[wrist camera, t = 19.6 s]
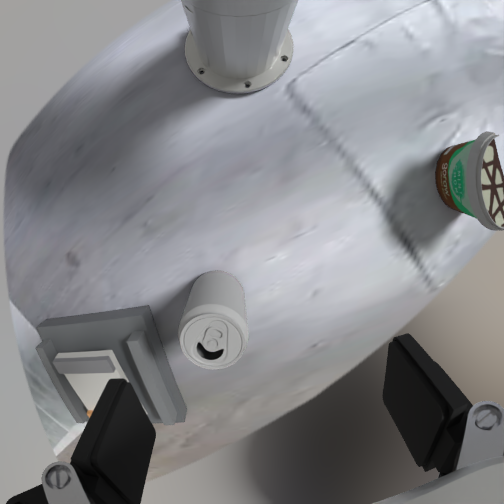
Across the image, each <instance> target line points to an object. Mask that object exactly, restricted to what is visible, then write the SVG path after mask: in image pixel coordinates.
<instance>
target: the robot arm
mask: <svg viewBox="0 0 504 504" xmlns="http://www.w3.org/2000/svg"><path fill="white" fill-rule="evenodd" d="M181 2H182V5H183V8H184V11H185V14H186V17H187V20H188V23H189V26H190V31H189V33H188V35H187V38H186V42H185V57H186V60H187V63H188V65H189V68H190V69H191V71H192V72H193V74H194V75H195V76H196V77H197V78H198V79H199V80H200V81H201V82H202V83H204V84H206V85H207V86H209V87H211V88H213V89H216V90H218V91H222V92H227V93H238V94H242V93H251V92H254V91H258V90H261V89H264V88H266V87H268V86H270V85H271V84H273V83H274V82H276V81H277V80H278V79H279V78H280V77H281V76H282V75H283V74H284V73H285V71H286V70H287V68H288V66H289V65H290V62H291V60H292V56H293V40H292V36H291V33H290V32H289V30H288V28H289V25H290V22H291V19H292V16H293V14H294V11H295V8H296V5H297V3H298V0H181ZM282 60H285V61H286V62H283V61H282ZM201 72H204V74H200V73H201ZM246 85H249V86H250V87H249V88H246V87H245V86H246ZM383 401H384V404H385V405H386V407H387V409H388V411H389V413H390V415H391V417H392V419H393V420H394V422H395V424H396V426H397V428H398V430H399V432H400V433H401V435H402V437H403V439H404V441H405V443H406V445H407V447H408V449H409V451H410V452H411V454H412V456H413V458H414V460H415V462H416V464H417V465H418V466H419V467H420V466H422V467H423V469H424V471H425V472H426V471H429V470H431V469H433V468H435V467H436V469H437V470H438V472H440V473H439V476H438V479H435V480H433V481H431V482H429V483H426V484H424V485H422V486H419V487H417V488H414V489H412V490H409V491H407V492H404V493H401V494H399V495H396V496H393V497H390V498H388V499H385V500H382V501H379V502H376V503H373V504H504V409H503V408H502V407H501V406H500V405H499V404H497V403H495V402H491V401H482V402H479V403H477V404H475V405H474V406H473V405H472V404H471V403H470V401H469V400H468V399H467V398H466V396H465V395H464V394H463V393H462V392H461V390H460V389H459V388H458V387H457V386H456V384H455V383H454V382H453V381H452V380H451V378H450V377H449V376H448V375H447V374H446V373H445V371H444V370H443V369H442V368H441V367H440V366H439V364H437V363H436V362H435V361H433V360H432V359H431V357H430V356H429V355H428V354H427V353H426V352H425V351H424V349H423V348H422V347H421V346H420V345H419V344H418V343H417V341H416V340H415V339H414V338H413V337H412V336H411V335H410V334H404V335H401V336H398V337H394V338H393V341H392V342H390V343H389V348H388V357H387V366H386V374H385V382H384V389H383ZM155 438H156V432H155V429H154V427H153V425H152V423H151V421H150V419H149V418H148V416H147V414H146V412H145V410H144V408H143V406H142V404H141V402H140V400H139V398H138V396H137V394H136V392H135V390H134V388H133V386H132V384H131V383H130V382H127V380H126V379H123V378H118V379H109V381H108V382H107V384H106V386H105V388H104V390H103V392H102V394H101V396H100V398H99V400H98V402H97V404H96V406H95V408H94V410H93V412H92V414H91V416H90V418H89V420H88V422H87V425H86V427H85V429H84V431H83V433H82V435H81V437H80V439H79V442H78V444H77V446H76V448H75V450H74V453H73V455H72V457H71V463H70V464H69V463H67V462H59V461H58V462H55V463H52V464H51V465H49V466H48V467H47V468H46V469H45V470H44V472H43V474H42V484H41V485H39V486H36V487H34V488H32V489H30V490H28V491H25V492H23V493H21V494H18V495H16V496H14V497H12V498H10V499H9V500H8V501H7V503H6V504H140V503H141V498H142V494H143V489H144V485H145V480H146V476H147V471H148V467H149V463H150V459H151V454H152V450H153V446H154V442H155Z"/></svg>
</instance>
